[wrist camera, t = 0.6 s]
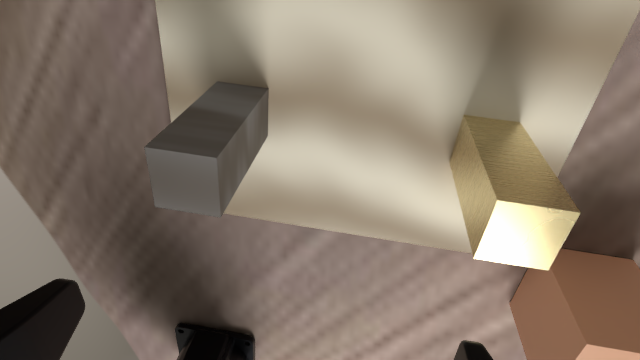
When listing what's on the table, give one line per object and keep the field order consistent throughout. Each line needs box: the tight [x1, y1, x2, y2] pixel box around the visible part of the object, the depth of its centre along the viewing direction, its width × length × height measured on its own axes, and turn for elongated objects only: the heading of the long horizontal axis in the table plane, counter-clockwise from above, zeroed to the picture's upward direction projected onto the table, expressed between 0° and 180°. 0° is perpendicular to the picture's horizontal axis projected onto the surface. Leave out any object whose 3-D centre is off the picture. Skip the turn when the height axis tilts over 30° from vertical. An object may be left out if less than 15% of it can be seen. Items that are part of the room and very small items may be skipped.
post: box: [449, 115, 581, 271], centre depth 16 cm, size 3×3×7 cm
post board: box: [144, 0, 640, 253], centre depth 17 cm, size 14×20×8 cm
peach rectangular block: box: [510, 249, 640, 360], centre depth 22 cm, size 5×5×7 cm
